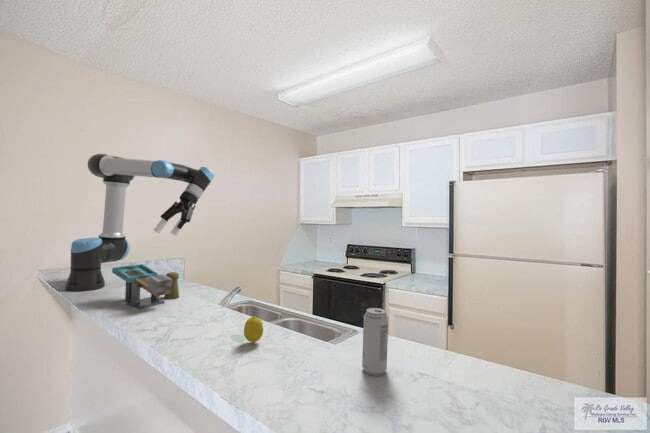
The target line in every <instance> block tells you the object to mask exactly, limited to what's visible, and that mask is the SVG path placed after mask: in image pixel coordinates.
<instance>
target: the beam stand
mask: <svg viewBox="0 0 650 433" xmlns="http://www.w3.org/2000/svg"><path fill="white" fill-rule="evenodd" d="M124 295H125V296H124V300H125V301H126V302H125V305H126V306H130V307H133V308H135V309H138V310H142V309H145V308H151V307H155V306H159V305H163V304H165V303H166V302H165V300H163V299H160V296H161V295H160V296H156V297H155V296H154V295H152V294H151V293H150V296H149V297H144V298H141V288H140V284H139V283H134V282H126V281H125V293H124Z"/></svg>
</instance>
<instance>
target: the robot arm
mask: <svg viewBox="0 0 650 433" xmlns="http://www.w3.org/2000/svg"><path fill="white" fill-rule="evenodd" d="M87 168H88V171H89V173H91V175H94V176H96V177H98V178H102V182H103V184H104V185H105V186H106V187H105V198H104V199H105V200H104V211H103V224H102V232H101V233H100V234H99V235H98V237H86V238H85V237H84V238H79V239H75V240H73V241H72V243H71V245H70V273H69V275H68V277H67V280H66V282H65V285H64V286H65V287H64V290H65V291H67V292H68V291H69V292H82V291H84V292H85V291H93V290H94V291H95V290H98V289H102V288H104V287H105V284H106V281H105V278H104V276H103V273H102V264H106V263H112V262H113V263H114V262H118V261H121V260H124V259H125V258H126V257H127V256H128V255H129V253H130V251H131V248H130V247H131V245H130V243H129V241H128V240H127V239H126V235H125V234H124V233H123V231H124V218H125V207H126V206H125V205H126V193H127V188H128V187H129V186H130V184H131V181H133V180H134V178H135V177H146V178H158V179H160V178H161V179H167V180H174V181H178V182H183V183H187V185H186V187H185V189H184V191H183V192H182V193H181V194H180V195H179V202H177V201H174V203H173V204H172V205H171V206H170V207H168V208H167V209H166V210H165V211H164V212H163V213H161V215H160V218H161V220H160V221H159V222H158V224H156V227H155V228H154V229H153V231H154V232H156V233H157V234H160V233H161V232H162V230H163V229H164V227H165V226H166V225H167V223H169V220H170V219H171V218H173V217H174V216H176V215H177V214H180V213H181V214H180V218H179V219H178V221H177V222H176V223H175V225H174V227H173V228H172V229H171V230H170V233H171V235H173V236H174V237H177V236H178V235H179V233H180V231H181V229H183V227H184V226H185V224H187V223H190V222H191V219H192V216H193V213H194V211H195V208H196V204H197V202H198V201H199V199H200V198H201V197H202V195H203V194H204V193H205V191H206V189H207V188H208V186H209V185H210V184H211V182H212V180H213V179H214V177H215V174H214V172H213V170H212V169H210V168H209V167H207V166H201V167H200V168H199V169H196V168H192V167H191V166H190V167H189V166H187V165H184V164H180V163H174V162H170V161H168V160H160V159H159V160H150V159H149V160H147V159H135V158H124V157H121V156H115V155H109V154H105V153H96V154H93V155H92V156H90V157H89V159H88V160H87Z"/></svg>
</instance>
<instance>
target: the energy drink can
mask: <svg viewBox="0 0 650 433" xmlns="http://www.w3.org/2000/svg"><path fill="white" fill-rule="evenodd" d="M365 311H366V312H365V314H364V315H363V328H362V329H363V330H362V332H363V333H362V357H361V358H362V361H361V362H362V363H361V366H362V369H364V372H365V373H366V374H368V375H370V376H374V377H377V376H378V377H379V376H380V377H381V376H383V375H384V374H385V372H386V371H387V369H388V367H387V366H388V342H389V341H388V340H389V338H388V337H389V336H388V335H389V317H388V315H387V310H385V309H384V308H379V307H368V308H367V309H366V310H365Z"/></svg>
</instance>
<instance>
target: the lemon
mask: <svg viewBox="0 0 650 433" xmlns="http://www.w3.org/2000/svg"><path fill="white" fill-rule="evenodd" d="M263 324H264V323H263V322H262V320H261V319H260V318H259V317H256V316H255V315H253V316H252V317H249V318H248V319H247V320H246V321H245V323H244V326H243V334H244V335H243V336H244V338H245V339H246V341H248V342H250V343H251V344H255V343H256V342H258V341H259V340H260V339H261V338H262V337H263V334H264V325H263Z"/></svg>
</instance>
